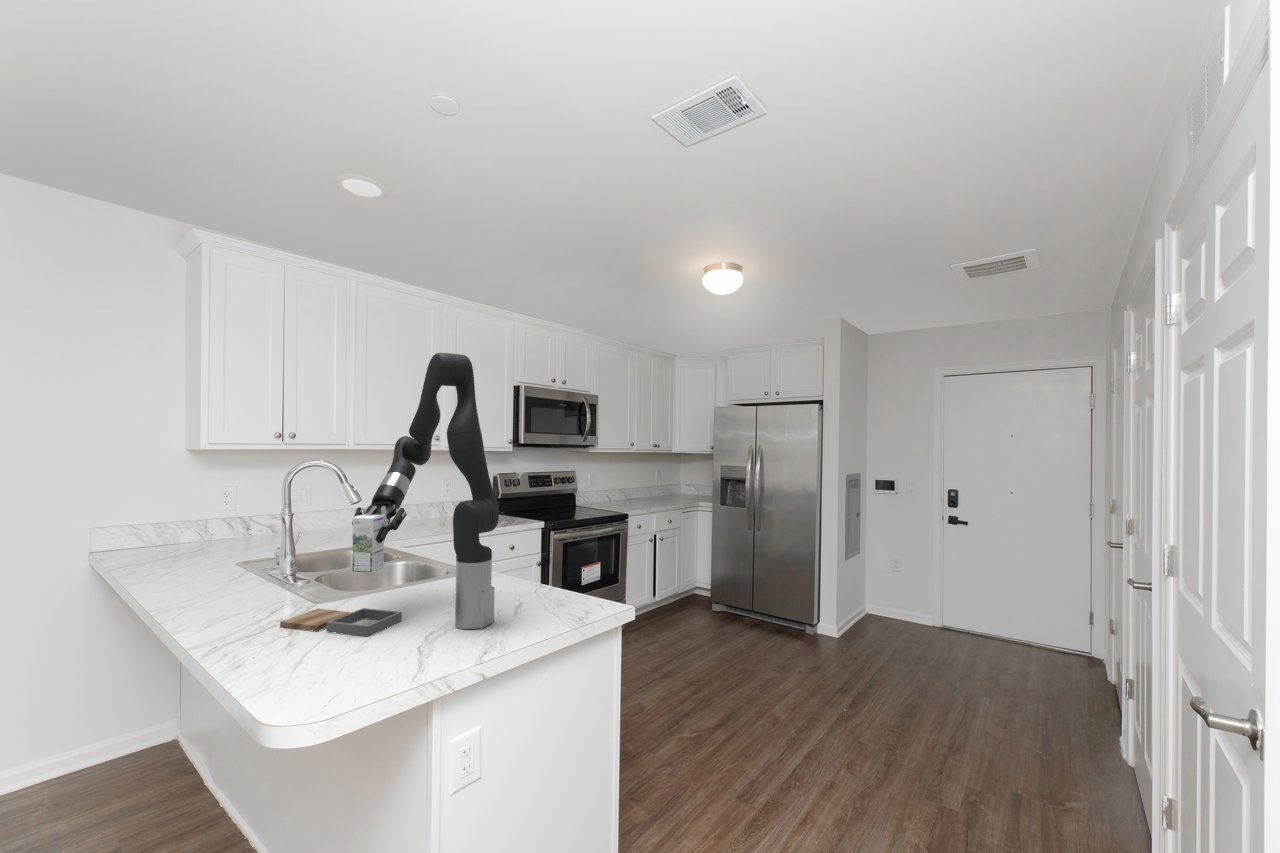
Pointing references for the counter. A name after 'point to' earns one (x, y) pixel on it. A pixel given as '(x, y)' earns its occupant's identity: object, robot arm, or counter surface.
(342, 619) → the frame
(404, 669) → the counter surface
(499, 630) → the counter surface
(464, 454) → the robot arm
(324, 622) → the walnut board
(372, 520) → the syrup box
